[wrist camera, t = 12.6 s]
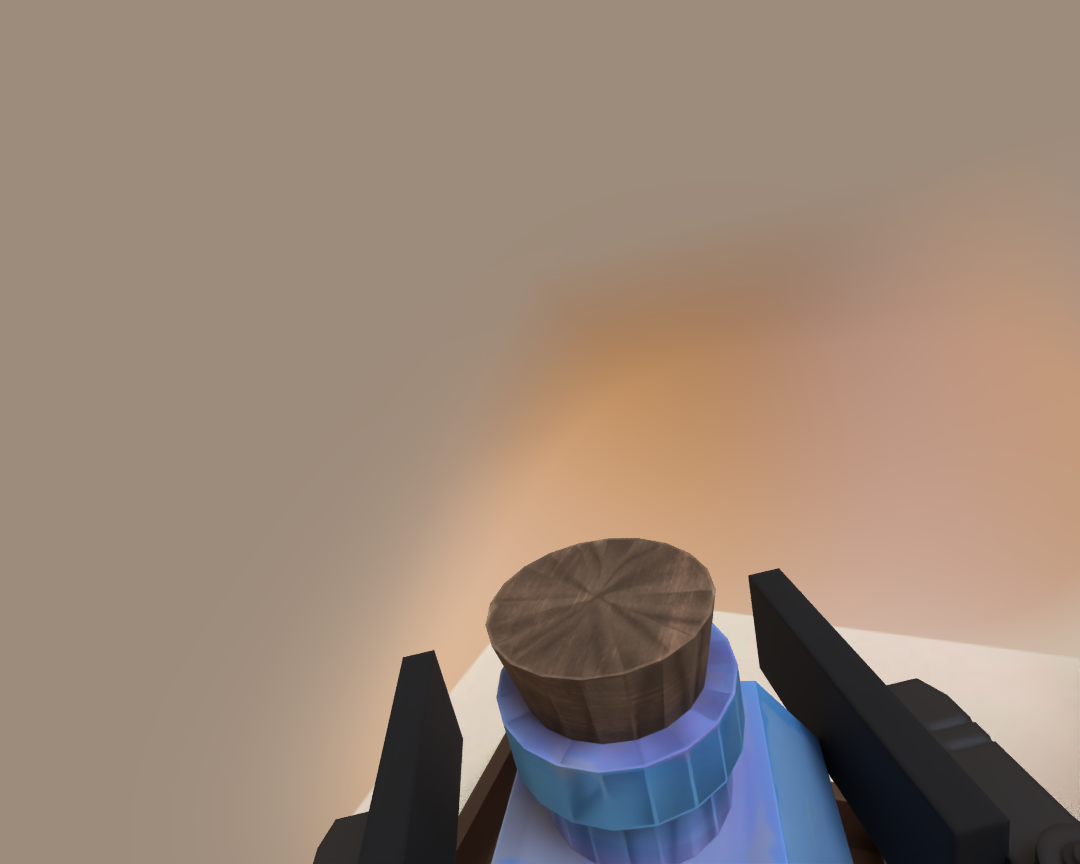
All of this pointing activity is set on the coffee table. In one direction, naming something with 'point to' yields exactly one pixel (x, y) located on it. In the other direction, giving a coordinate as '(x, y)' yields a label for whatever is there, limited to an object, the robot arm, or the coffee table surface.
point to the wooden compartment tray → (493, 794)
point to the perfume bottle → (645, 723)
